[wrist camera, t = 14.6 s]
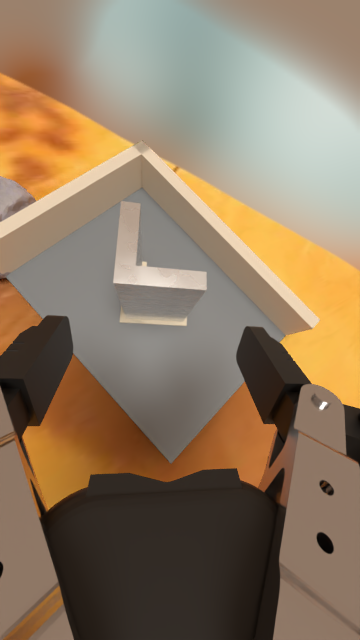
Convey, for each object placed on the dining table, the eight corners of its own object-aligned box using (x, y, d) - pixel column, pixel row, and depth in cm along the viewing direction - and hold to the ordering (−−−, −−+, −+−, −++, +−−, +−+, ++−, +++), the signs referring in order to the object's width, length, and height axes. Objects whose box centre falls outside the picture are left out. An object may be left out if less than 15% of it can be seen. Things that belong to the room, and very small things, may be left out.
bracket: (126, 318, 21) (112, 283, 13) (130, 266, 23) (121, 201, 14) (182, 321, 22) (206, 290, 13) (183, 270, 23) (206, 211, 15)
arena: (3, 271, 22) (-37, 243, 17) (143, 182, 26) (142, 140, 22) (169, 459, 20) (177, 486, 16) (286, 329, 25) (320, 319, 20)
